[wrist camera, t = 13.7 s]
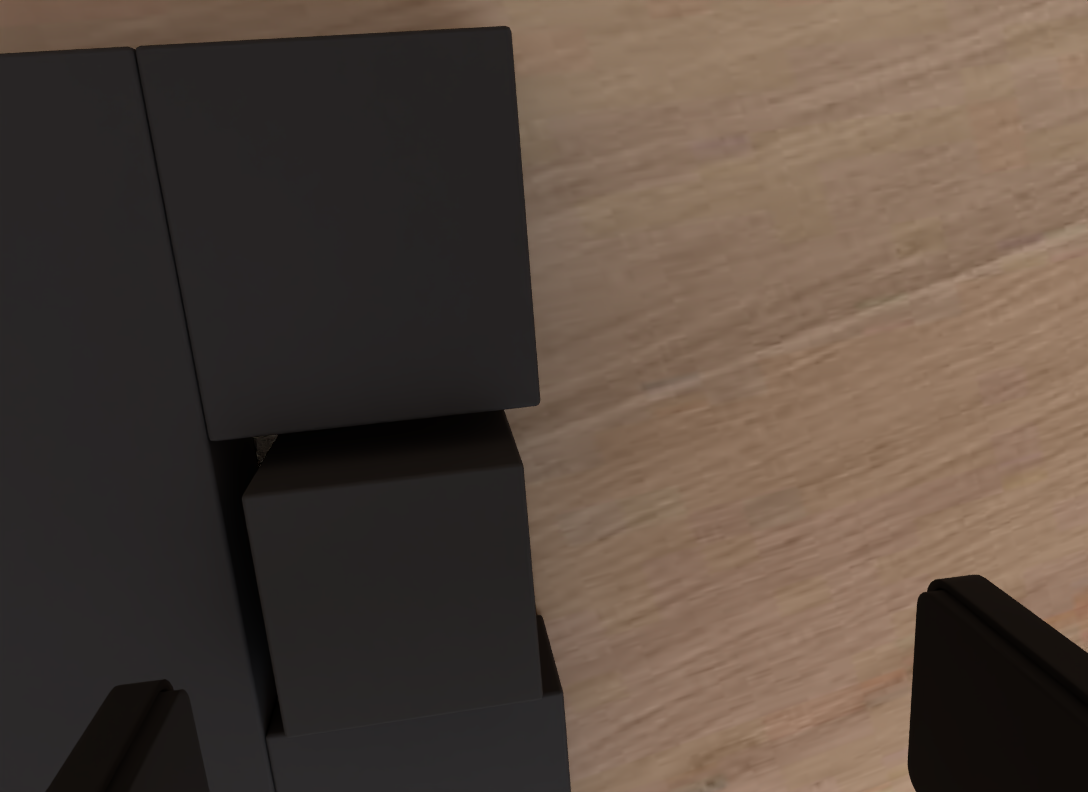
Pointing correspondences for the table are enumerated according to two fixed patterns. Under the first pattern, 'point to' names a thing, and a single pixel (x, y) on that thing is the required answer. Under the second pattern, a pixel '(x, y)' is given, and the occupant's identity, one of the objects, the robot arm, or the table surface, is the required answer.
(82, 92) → the base pad
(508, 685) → the pad block
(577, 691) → the table surface
